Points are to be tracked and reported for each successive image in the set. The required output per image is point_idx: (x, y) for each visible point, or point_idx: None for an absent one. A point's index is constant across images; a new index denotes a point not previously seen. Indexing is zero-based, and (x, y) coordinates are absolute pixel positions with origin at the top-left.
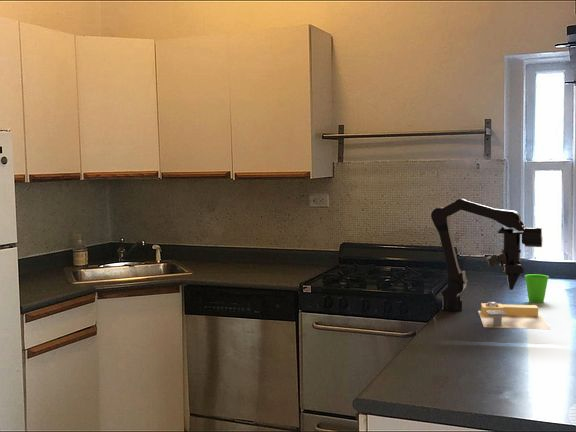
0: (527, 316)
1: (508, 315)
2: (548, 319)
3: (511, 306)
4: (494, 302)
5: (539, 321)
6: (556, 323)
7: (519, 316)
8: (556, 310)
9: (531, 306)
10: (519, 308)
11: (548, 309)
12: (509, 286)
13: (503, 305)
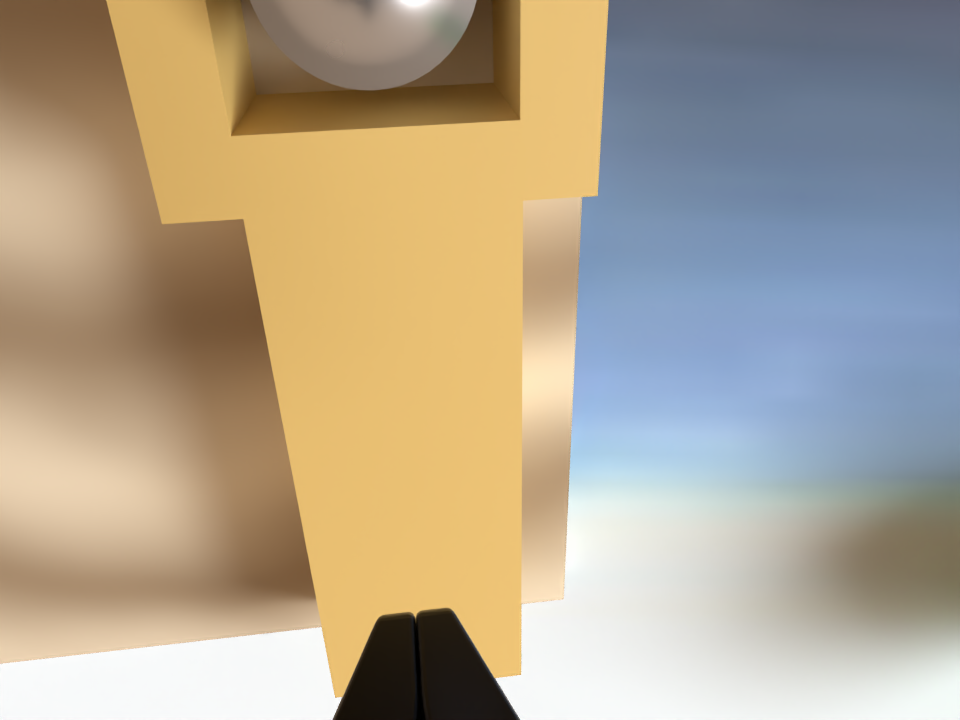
0: (291, 500)
1: None
2: None
3: (344, 378)
4: (408, 44)
5: (20, 614)
6: (174, 710)
7: (253, 409)
8: (806, 702)
9: None
10: (296, 482)
11: (858, 650)
12: (349, 700)
13: (414, 237)
